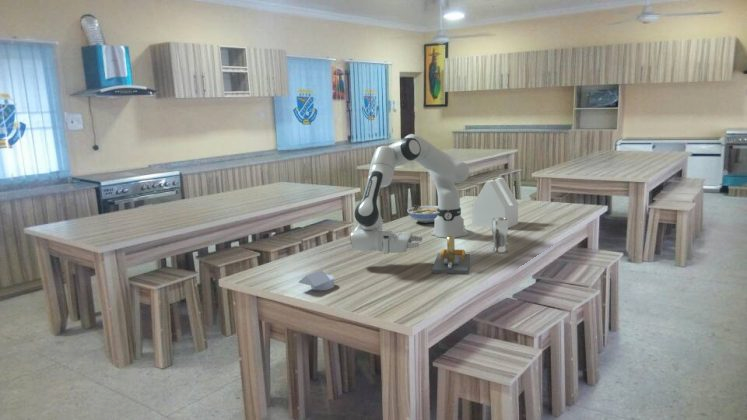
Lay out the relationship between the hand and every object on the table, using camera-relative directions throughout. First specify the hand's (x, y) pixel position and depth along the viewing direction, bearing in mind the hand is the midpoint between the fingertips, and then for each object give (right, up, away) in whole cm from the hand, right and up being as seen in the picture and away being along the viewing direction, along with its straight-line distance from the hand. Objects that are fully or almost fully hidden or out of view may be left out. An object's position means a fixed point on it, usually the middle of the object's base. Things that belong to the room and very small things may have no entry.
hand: (420, 241), depth 228 cm
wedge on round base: (-40, -17, -19) cm, 48 cm away
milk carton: (+47, +5, +71) cm, 86 cm away
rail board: (+13, -10, +2) cm, 17 cm away
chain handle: (+12, -9, -4) cm, 16 cm away
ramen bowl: (+11, +6, +85) cm, 86 cm away
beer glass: (+38, -6, +19) cm, 43 cm away
